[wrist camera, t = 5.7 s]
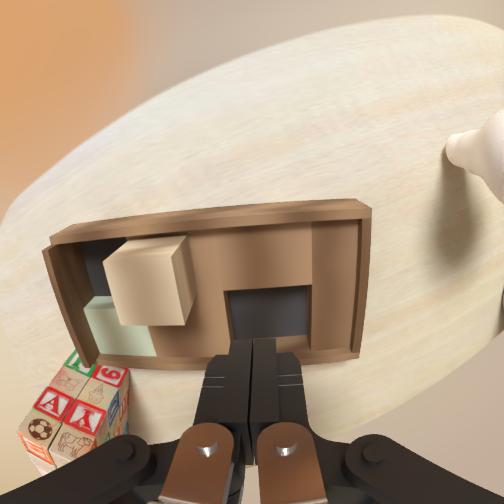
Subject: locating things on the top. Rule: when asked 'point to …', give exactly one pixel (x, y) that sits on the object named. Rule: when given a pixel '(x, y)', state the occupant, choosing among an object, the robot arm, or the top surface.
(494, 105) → the top surface
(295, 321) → the board
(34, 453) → the stack of blocks
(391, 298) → the top surface
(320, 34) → the top surface
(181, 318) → the beech block
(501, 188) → the lightbulb
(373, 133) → the top surface
